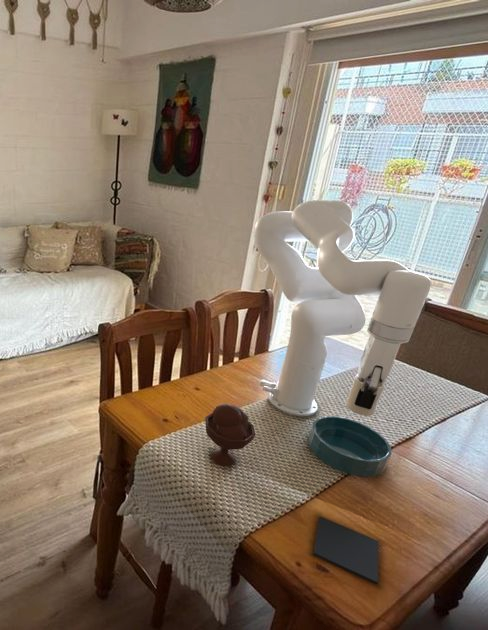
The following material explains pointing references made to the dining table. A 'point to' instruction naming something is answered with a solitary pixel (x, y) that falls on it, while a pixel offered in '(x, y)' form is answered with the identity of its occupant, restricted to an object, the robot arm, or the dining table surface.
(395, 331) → the robot arm
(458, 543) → the dining table surface
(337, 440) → the teal bowl
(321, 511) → the dining table surface
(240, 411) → the ice cream bowl
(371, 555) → the slate coaster
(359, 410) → the cream cup
